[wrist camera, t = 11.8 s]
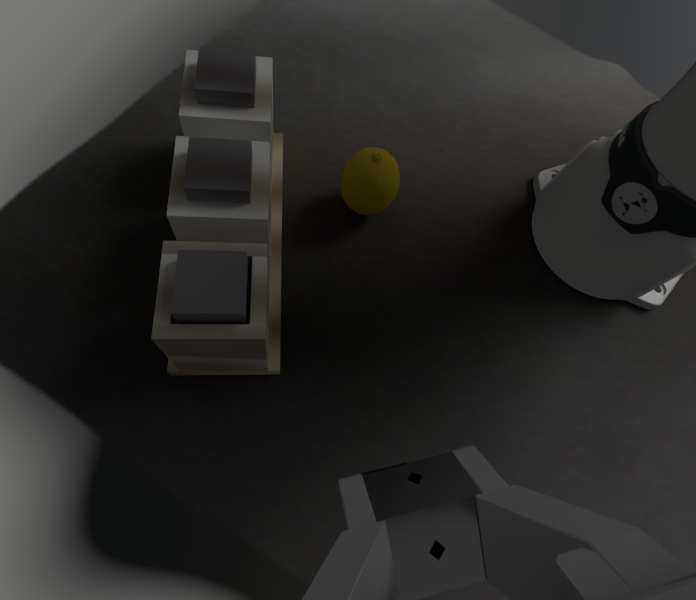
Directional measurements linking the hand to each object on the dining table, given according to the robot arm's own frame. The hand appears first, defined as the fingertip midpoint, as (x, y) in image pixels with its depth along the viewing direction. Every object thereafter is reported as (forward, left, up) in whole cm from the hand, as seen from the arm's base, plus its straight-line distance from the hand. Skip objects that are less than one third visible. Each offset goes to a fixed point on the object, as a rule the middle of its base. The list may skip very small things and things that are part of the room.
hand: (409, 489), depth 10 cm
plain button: (0, -14, -24) cm, 28 cm away
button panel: (-5, -22, -29) cm, 37 cm away
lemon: (-19, -19, -29) cm, 40 cm away
